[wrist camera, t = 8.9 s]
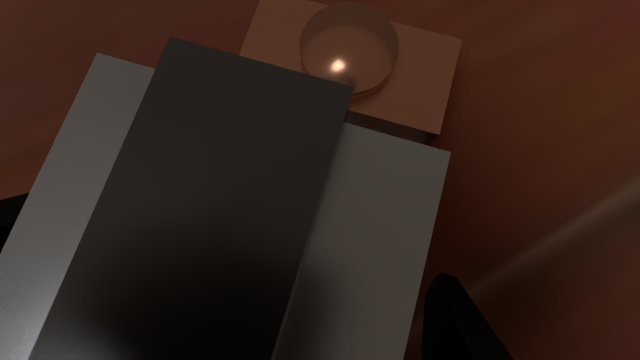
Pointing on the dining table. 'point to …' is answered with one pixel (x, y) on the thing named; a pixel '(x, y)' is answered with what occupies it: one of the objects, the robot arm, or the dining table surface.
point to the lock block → (218, 221)
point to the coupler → (362, 61)
